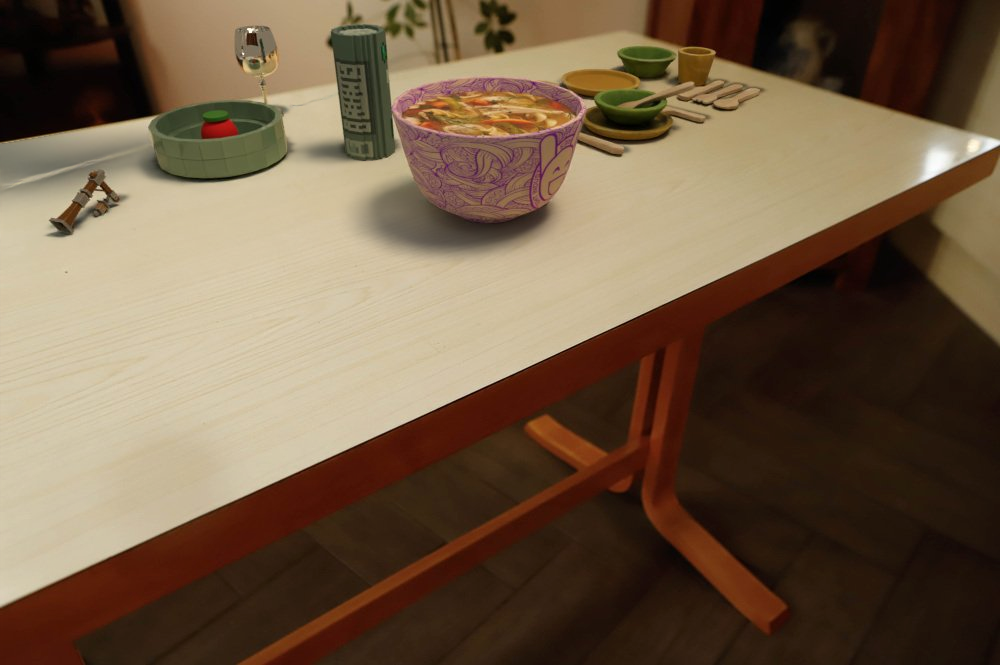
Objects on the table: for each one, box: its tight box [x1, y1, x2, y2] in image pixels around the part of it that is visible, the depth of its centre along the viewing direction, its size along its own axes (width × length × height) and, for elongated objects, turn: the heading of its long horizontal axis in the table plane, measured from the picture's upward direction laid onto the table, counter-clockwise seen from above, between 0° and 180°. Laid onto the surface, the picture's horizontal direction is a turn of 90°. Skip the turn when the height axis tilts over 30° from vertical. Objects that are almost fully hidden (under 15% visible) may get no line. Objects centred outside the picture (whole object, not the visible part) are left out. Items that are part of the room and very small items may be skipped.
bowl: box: [147, 99, 288, 179], centre depth 91 cm, size 16×16×5 cm
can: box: [330, 23, 396, 161], centre depth 90 cm, size 6×6×15 cm
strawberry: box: [201, 110, 238, 139], centre depth 91 cm, size 4×4×5 cm
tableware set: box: [534, 45, 761, 155], centre depth 110 cm, size 41×28×6 cm
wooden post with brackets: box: [48, 168, 121, 235], centre depth 77 cm, size 2×8×4 cm, turn 160°
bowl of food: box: [391, 76, 588, 224], centre depth 77 cm, size 20×20×12 cm
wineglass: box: [234, 25, 285, 118], centre depth 102 cm, size 6×6×12 cm
